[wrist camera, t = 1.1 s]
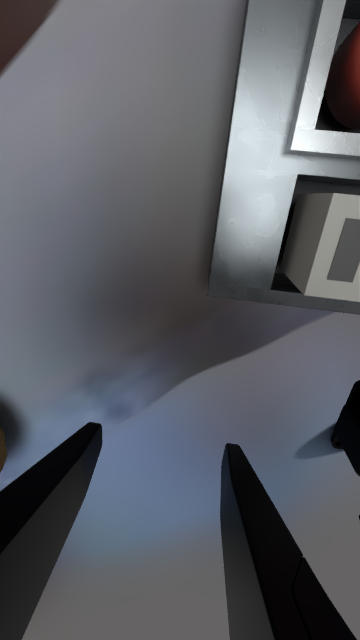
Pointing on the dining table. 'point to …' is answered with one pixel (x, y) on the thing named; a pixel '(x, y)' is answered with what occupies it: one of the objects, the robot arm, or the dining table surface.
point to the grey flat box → (278, 146)
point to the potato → (2, 449)
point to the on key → (325, 246)
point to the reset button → (345, 81)
